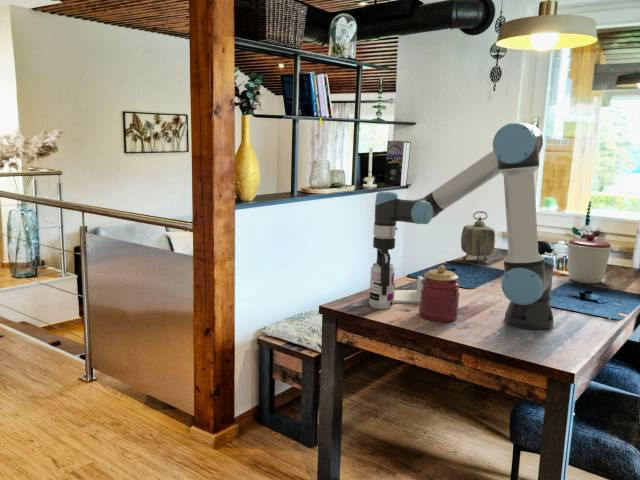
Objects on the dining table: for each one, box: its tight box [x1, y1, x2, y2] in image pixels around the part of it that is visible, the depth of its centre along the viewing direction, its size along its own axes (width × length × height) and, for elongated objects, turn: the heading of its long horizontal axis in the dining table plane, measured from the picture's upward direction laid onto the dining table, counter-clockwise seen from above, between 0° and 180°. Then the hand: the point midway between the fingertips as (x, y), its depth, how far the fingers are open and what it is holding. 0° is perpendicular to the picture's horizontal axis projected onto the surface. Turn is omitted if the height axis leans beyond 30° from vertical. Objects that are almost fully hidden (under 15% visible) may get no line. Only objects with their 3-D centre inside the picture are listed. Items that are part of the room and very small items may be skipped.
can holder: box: [393, 275, 425, 305], centre depth 207 cm, size 14×14×7 cm
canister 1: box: [418, 264, 461, 323], centre depth 186 cm, size 13×13×18 cm
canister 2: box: [566, 232, 614, 285], centre depth 240 cm, size 18×18×21 cm
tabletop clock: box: [460, 210, 496, 264], centre depth 272 cm, size 14×9×25 cm, turn 94°
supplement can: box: [368, 262, 395, 310], centre depth 195 cm, size 8×8×15 cm
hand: (380, 300), depth 196 cm, fingers closed on supplement can, 8 cm apart
